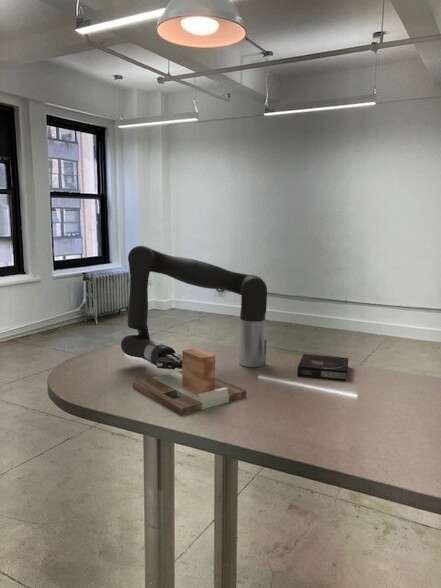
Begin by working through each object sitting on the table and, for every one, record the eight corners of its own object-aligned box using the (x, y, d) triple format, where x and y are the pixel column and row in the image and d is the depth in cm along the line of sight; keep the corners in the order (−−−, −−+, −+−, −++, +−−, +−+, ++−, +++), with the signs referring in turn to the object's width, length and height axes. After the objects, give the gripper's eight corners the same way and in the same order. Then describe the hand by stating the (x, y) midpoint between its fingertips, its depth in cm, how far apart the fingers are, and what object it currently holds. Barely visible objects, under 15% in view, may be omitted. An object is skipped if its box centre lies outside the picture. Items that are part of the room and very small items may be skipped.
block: (195, 384, 155) (195, 347, 153) (214, 393, 147) (215, 355, 146) (182, 388, 152) (182, 350, 150) (201, 397, 144) (201, 358, 142)
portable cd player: (297, 377, 171) (297, 366, 170) (303, 363, 187) (303, 353, 187) (345, 383, 166) (346, 371, 166) (347, 368, 183) (348, 357, 182)
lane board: (193, 373, 173) (193, 362, 172) (246, 396, 151) (246, 384, 150) (132, 387, 158) (132, 375, 157) (181, 415, 136) (181, 401, 136)
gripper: (142, 347, 161) (171, 359, 148) (176, 341, 170) (206, 352, 156) (142, 369, 163) (171, 383, 149) (176, 362, 171) (206, 375, 157)
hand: (189, 367), depth 153 cm, fingers closed
